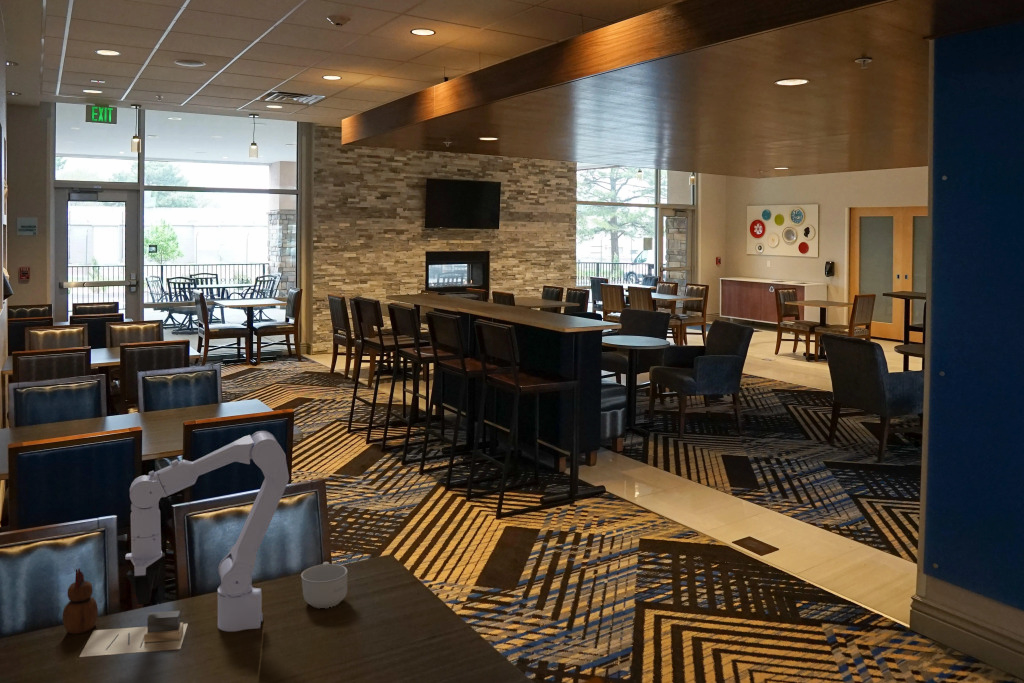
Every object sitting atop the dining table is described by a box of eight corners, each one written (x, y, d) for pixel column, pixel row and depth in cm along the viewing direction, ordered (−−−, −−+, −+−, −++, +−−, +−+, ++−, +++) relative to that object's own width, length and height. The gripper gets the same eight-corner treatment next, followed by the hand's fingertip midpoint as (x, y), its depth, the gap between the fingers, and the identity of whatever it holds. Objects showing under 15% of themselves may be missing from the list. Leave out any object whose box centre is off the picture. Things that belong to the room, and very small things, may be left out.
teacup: (341, 614, 191) (342, 580, 190) (295, 612, 191) (295, 579, 190) (353, 590, 205) (354, 559, 204) (310, 588, 205) (311, 557, 204)
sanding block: (183, 631, 177) (183, 609, 176) (180, 640, 173) (180, 618, 172) (148, 633, 175) (148, 611, 175) (144, 643, 171) (144, 620, 170)
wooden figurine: (81, 641, 173) (80, 573, 172) (57, 638, 174) (56, 570, 173) (103, 627, 180) (102, 561, 178) (80, 624, 181) (79, 558, 180)
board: (187, 628, 181) (187, 623, 181) (180, 654, 169) (180, 648, 169) (93, 635, 176) (93, 630, 176) (79, 662, 164) (79, 656, 164)
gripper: (132, 523, 178) (133, 583, 179) (117, 546, 164) (119, 611, 165) (167, 521, 180) (168, 581, 181) (155, 544, 166) (156, 608, 167)
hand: (147, 595), depth 173 cm, fingers open, 7 cm apart
